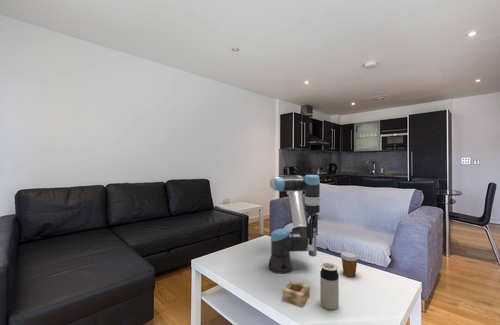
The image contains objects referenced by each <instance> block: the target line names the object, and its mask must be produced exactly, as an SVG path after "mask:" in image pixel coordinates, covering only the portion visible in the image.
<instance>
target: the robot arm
mask: <svg viewBox="0 0 500 325" xmlns="http://www.w3.org/2000/svg"><path fill="white" fill-rule="evenodd" d="M320 183H321V181H320V175H318V174H305V176H302V175H296V174H294V175H277V176H274V177H272V178H271V179H270V181H269V186H270V188H271V189H272V190H274V191H276V192H286V195H287V196H289V204H290V211H291V219H292V220H291V221H292V225H293V226H292V229H291V231H290V229H288V228H277V229H275V230H273V231H272V232H271V234H270V257H269V261H268V263H267V264H268V266H267V267H268V269H269V270H270V271H271V272H273V273H276V274H288V273H290V272H292V271H293V269H294V268H293V267H294V266H293V265H294V264H293V262H292V259H291V252H309V250H310V251H314V238H313V231H314V227H315V228H316V236H318V235H319V232H318V228H319V227H318V226H319V222H318V220H319V213H320V212H321V210H320V209H321V208H320V207H321V206H320V204H321V203H320V201H321V198H320V197H321V196H320V193H321V191H320V190H321V189H320V187H321V186H320V185H321V184H320ZM303 192H304V203H303V197H302V195H303ZM306 213H307V218H306Z"/></svg>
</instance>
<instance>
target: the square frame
mask: <svg viewBox="0 0 500 325" xmlns="http://www.w3.org/2000/svg"><path fill="white" fill-rule="evenodd" d="M310 288H311V285H308V284H305V283H301V282H298V281H295V280H290V281H289V282H288V283H287V284H286V285H285V286H284V287H283V289H282V301H284V302H288V303H290V304H293V305H296V306H299V307H302V308H304V306H305V304H306V303H307V301H308V299H309V298H310V294H311V289H310Z"/></svg>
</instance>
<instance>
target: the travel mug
mask: <svg viewBox="0 0 500 325" xmlns="http://www.w3.org/2000/svg"><path fill="white" fill-rule="evenodd" d="M320 267H321V270H320V274H319V275H320V276H319V277H320V278H319V279H320V288H319V289H320V291H319V292H320V294H319V295H320V305H321V306H322V307H323V308H325V309H328V310H337V309H338V308H339V304H340V299H339V297H340V296H339V292H340V291H339V290H340V289H339V288H340V287H339V286H340V285H339V284H340V283H339V275H340V274H339V273H338V269H339V267H338V265H336V264H335V263H333V262H322V263H321V264H320Z"/></svg>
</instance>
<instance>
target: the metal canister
mask: <svg viewBox="0 0 500 325" xmlns="http://www.w3.org/2000/svg"><path fill="white" fill-rule="evenodd" d="M313 238H314V251H310V250H309V251H308V256H310V257H316V256H317V235H316V228H315V227H314V231H313Z"/></svg>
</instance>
